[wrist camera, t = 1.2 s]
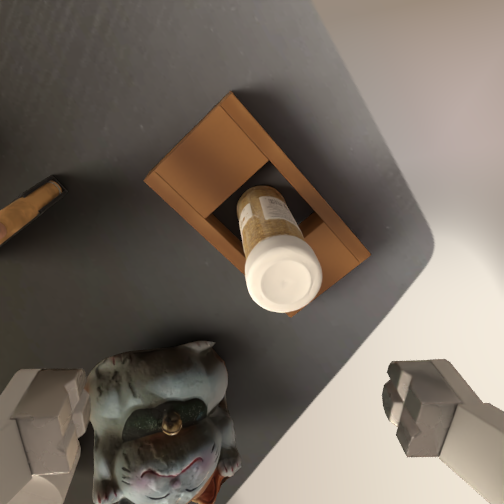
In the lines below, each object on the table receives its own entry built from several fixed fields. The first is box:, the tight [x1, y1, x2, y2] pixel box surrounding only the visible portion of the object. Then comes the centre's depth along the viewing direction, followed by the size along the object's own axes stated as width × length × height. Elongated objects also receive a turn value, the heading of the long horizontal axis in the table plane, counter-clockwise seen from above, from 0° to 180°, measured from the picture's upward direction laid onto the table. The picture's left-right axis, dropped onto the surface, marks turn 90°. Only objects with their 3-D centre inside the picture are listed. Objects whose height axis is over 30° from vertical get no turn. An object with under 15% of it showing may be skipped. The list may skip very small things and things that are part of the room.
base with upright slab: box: [7, 441, 81, 504], centre depth 39 cm, size 9×9×12 cm
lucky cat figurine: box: [84, 341, 242, 504], centre depth 37 cm, size 15×12×14 cm
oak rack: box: [144, 91, 371, 318], centre depth 33 cm, size 9×18×3 cm, turn 42°
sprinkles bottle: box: [236, 186, 322, 313], centre depth 29 cm, size 5×5×13 cm
